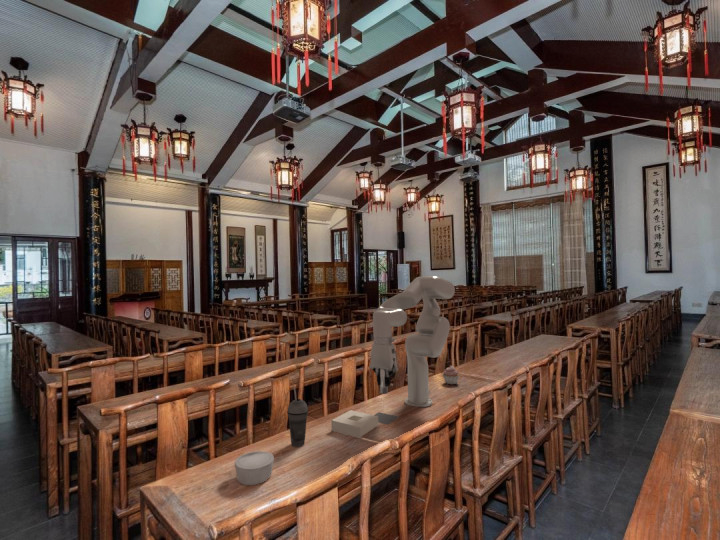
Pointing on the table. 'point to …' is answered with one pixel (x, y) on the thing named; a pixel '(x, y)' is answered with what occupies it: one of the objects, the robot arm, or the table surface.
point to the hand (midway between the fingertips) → (383, 384)
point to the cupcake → (451, 375)
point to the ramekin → (254, 467)
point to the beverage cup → (297, 421)
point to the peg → (383, 382)
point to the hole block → (354, 423)
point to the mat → (385, 418)
